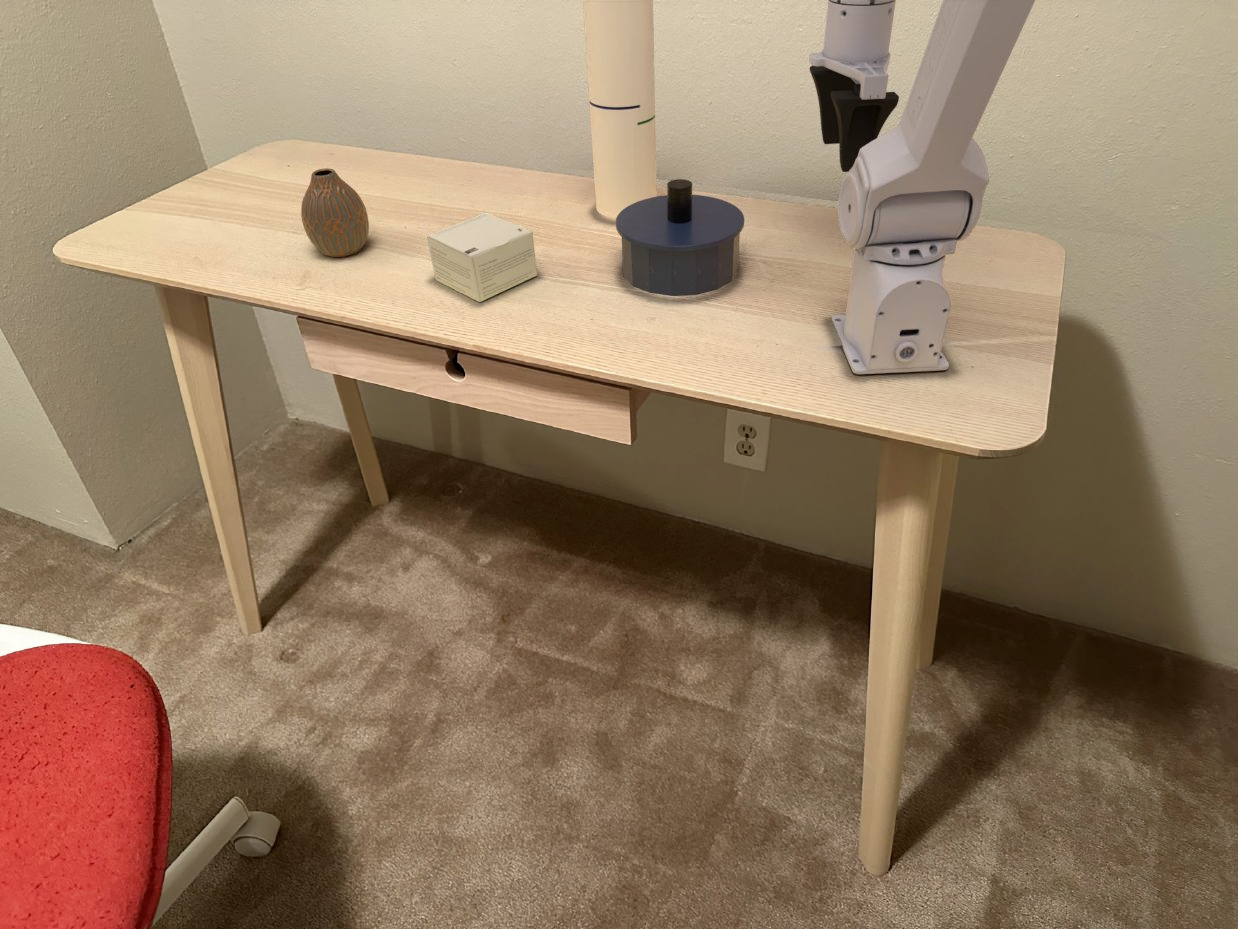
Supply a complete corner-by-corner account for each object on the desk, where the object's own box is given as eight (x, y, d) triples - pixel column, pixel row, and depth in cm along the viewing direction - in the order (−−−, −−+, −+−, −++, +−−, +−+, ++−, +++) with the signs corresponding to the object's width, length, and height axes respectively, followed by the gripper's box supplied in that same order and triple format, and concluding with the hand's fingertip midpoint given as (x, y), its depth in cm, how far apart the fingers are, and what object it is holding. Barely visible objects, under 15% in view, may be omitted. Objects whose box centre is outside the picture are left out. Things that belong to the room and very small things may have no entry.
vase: (300, 261, 94) (276, 182, 89) (330, 235, 99) (310, 159, 94) (357, 265, 93) (336, 185, 87) (385, 238, 98) (367, 161, 92)
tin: (743, 297, 83) (746, 245, 80) (624, 303, 83) (622, 251, 80) (729, 246, 92) (731, 197, 89) (622, 251, 92) (619, 203, 89)
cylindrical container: (589, 204, 103) (572, -33, 87) (645, 195, 104) (639, -40, 89) (606, 226, 98) (592, -22, 82) (665, 216, 99) (662, -30, 83)
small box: (492, 255, 93) (486, 210, 90) (539, 277, 89) (534, 229, 85) (433, 280, 89) (424, 234, 86) (479, 304, 84) (471, 256, 81)
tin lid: (752, 253, 80) (755, 206, 77) (617, 260, 80) (615, 213, 77) (735, 201, 90) (737, 157, 87) (615, 207, 90) (612, 163, 87)
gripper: (799, -15, 80) (787, 133, 88) (835, 20, 69) (817, 186, 77) (874, -19, 80) (855, 129, 88) (922, 15, 69) (896, 181, 77)
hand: (843, 156), depth 83 cm, fingers open, 7 cm apart
